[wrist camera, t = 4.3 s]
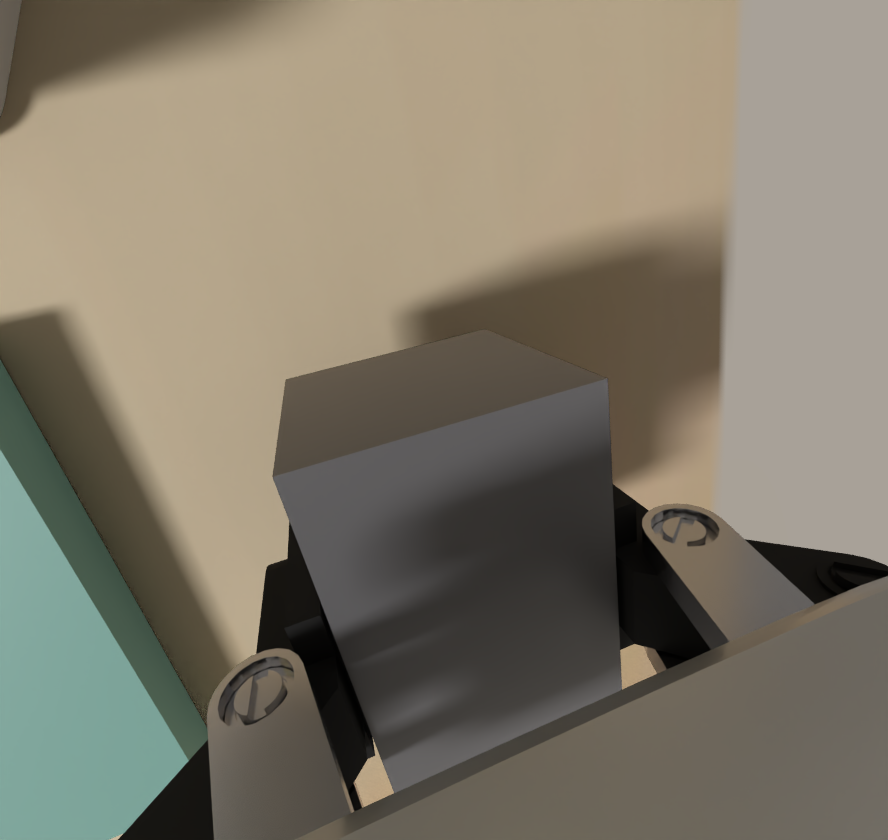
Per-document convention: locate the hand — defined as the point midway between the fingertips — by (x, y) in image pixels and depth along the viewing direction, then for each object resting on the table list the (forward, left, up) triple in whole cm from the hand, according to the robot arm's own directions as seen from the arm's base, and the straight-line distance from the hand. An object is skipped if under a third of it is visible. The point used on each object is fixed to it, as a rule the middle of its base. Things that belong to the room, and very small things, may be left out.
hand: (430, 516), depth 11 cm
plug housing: (0, 0, 0) cm, 0 cm away
